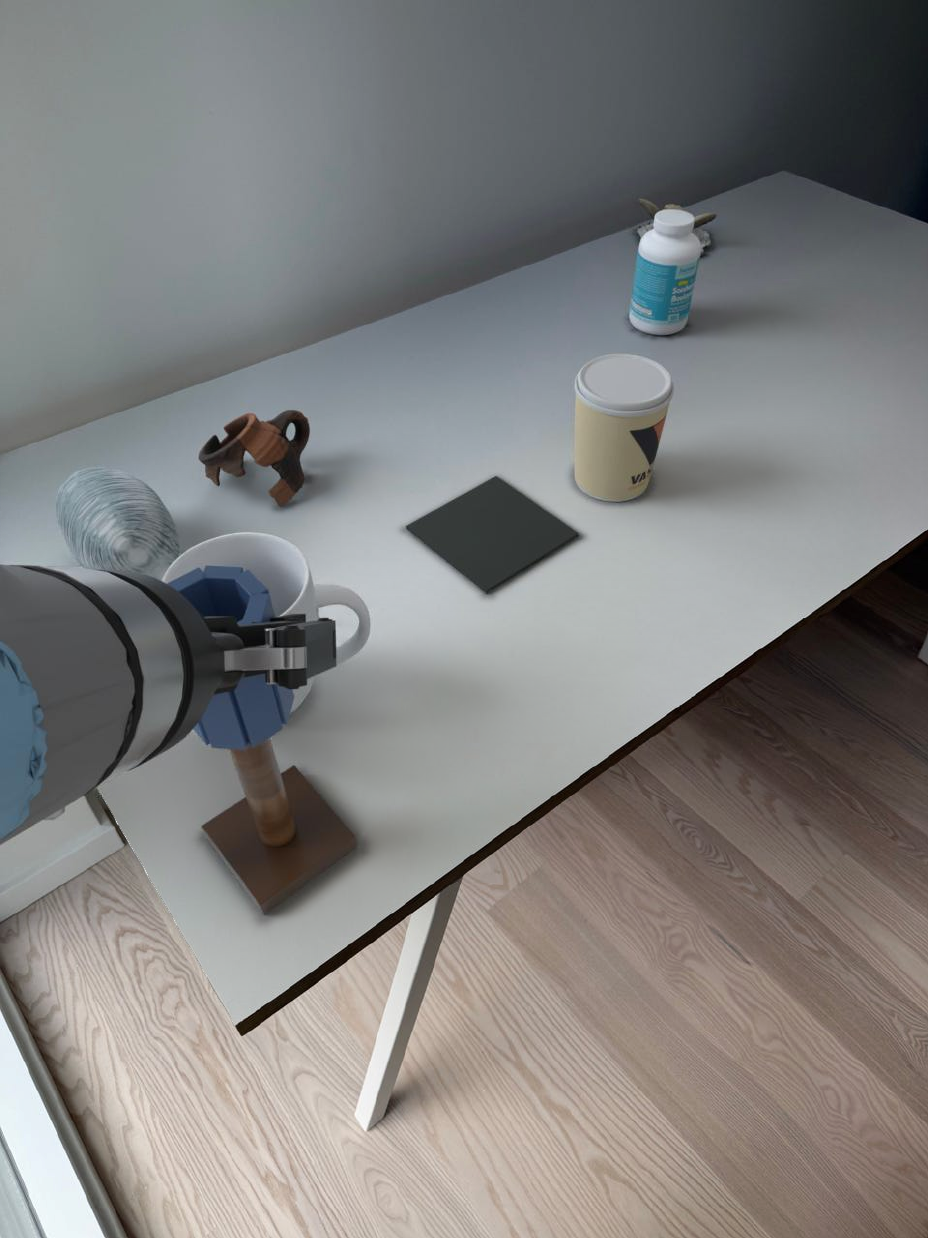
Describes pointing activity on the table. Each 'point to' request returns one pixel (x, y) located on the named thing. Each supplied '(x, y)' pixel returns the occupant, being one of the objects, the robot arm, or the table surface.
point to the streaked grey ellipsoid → (116, 523)
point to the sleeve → (253, 702)
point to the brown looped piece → (261, 450)
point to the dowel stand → (276, 829)
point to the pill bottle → (665, 274)
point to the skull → (699, 220)
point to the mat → (491, 533)
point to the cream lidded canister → (619, 424)
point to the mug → (278, 583)
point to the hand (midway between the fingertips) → (243, 636)
